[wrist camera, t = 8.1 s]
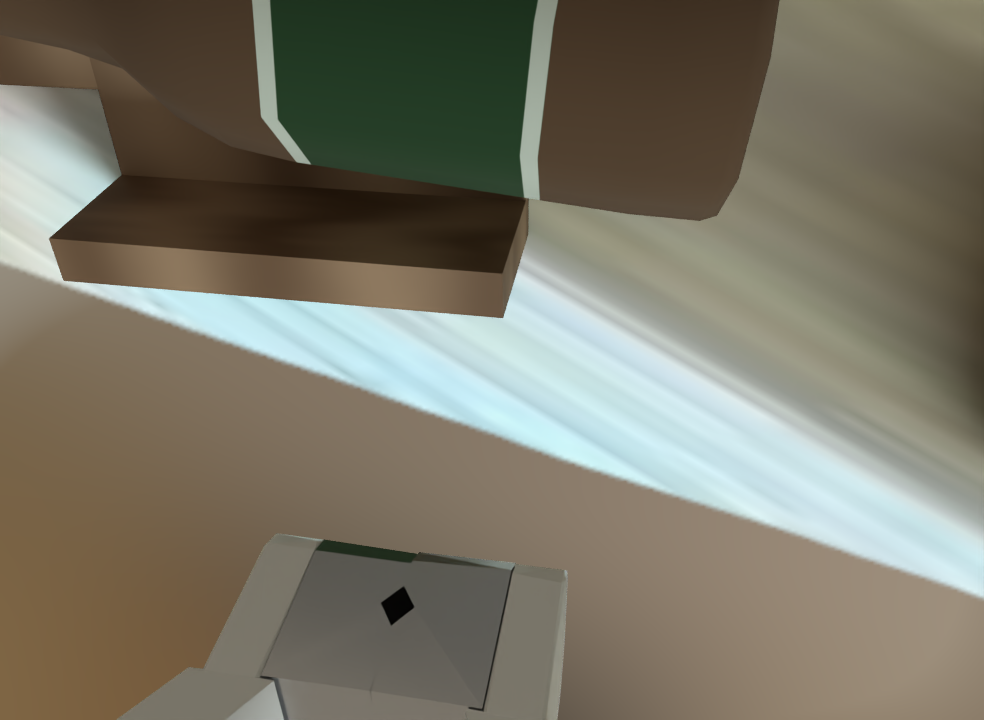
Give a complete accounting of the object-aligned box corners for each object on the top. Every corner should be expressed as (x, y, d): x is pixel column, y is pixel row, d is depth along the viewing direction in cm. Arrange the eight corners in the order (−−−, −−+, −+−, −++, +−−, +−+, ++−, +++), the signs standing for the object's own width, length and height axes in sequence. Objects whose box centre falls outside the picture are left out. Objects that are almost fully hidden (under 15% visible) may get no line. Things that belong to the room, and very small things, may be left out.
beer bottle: (701, 213, 27) (-57, 96, 29) (758, -72, 25) (-60, -175, 27) (733, 246, 20) (-288, 85, 22) (818, -158, 18) (-317, -289, 20)
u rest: (531, -324, 22) (495, -323, 18) (528, 233, 31) (502, 317, 27) (-204, -309, 25) (-377, -305, 21) (-13, 195, 34) (-109, 265, 30)
